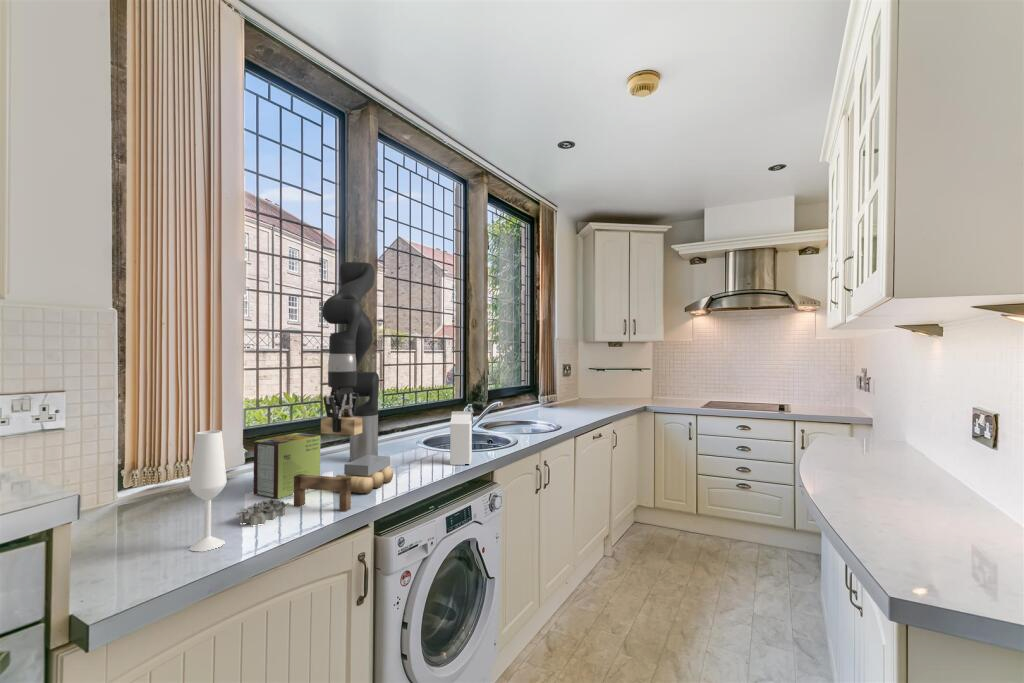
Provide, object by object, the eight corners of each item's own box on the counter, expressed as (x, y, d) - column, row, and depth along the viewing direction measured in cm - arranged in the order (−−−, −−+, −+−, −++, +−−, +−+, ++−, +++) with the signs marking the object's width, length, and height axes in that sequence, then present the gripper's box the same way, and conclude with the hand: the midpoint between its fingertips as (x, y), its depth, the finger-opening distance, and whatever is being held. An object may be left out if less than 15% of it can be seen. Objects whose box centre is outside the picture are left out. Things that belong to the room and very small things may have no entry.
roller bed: (332, 492, 140) (332, 477, 140) (363, 478, 156) (363, 464, 156) (365, 495, 137) (365, 479, 137) (393, 480, 153) (393, 466, 153)
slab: (344, 474, 143) (344, 464, 143) (367, 464, 156) (367, 455, 156) (368, 476, 141) (368, 465, 141) (390, 465, 154) (390, 456, 154)
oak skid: (362, 432, 136) (362, 417, 136) (354, 435, 132) (354, 419, 132) (329, 430, 138) (329, 416, 138) (320, 433, 134) (320, 418, 135)
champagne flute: (180, 552, 98) (182, 434, 99) (201, 539, 105) (203, 429, 106) (213, 552, 98) (215, 435, 99) (232, 539, 105) (233, 429, 106)
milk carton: (469, 465, 173) (469, 412, 174) (450, 465, 173) (450, 412, 174) (471, 461, 180) (471, 410, 181) (452, 460, 180) (453, 410, 181)
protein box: (320, 485, 147) (321, 434, 148) (277, 499, 133) (278, 443, 134) (296, 481, 152) (297, 432, 152) (252, 494, 138) (252, 440, 138)
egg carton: (256, 529, 112) (256, 511, 112) (232, 525, 115) (232, 508, 115) (291, 514, 122) (291, 498, 122) (268, 510, 125) (269, 494, 125)
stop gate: (293, 506, 127) (293, 476, 128) (298, 504, 129) (299, 474, 130) (346, 511, 124) (346, 480, 124) (350, 508, 125) (350, 478, 126)
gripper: (339, 371, 128) (338, 435, 127) (367, 369, 141) (367, 427, 141) (314, 370, 129) (313, 434, 129) (345, 368, 143) (344, 426, 143)
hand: (341, 430), depth 135 cm, fingers closed on oak skid, 4 cm apart
